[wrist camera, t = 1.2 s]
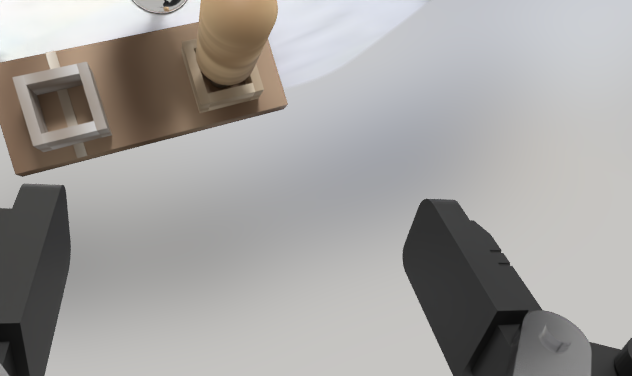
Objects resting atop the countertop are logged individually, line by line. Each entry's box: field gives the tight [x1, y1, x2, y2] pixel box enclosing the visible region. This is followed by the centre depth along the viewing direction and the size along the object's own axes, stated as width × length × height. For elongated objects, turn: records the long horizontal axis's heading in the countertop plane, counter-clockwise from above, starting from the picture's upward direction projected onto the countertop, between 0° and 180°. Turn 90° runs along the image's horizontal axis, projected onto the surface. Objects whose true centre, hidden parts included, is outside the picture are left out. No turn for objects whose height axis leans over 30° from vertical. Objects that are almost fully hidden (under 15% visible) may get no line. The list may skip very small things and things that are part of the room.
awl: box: [196, 0, 278, 88], centre depth 31 cm, size 4×4×12 cm
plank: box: [0, 22, 288, 177], centre depth 35 cm, size 18×7×4 cm, turn 107°
